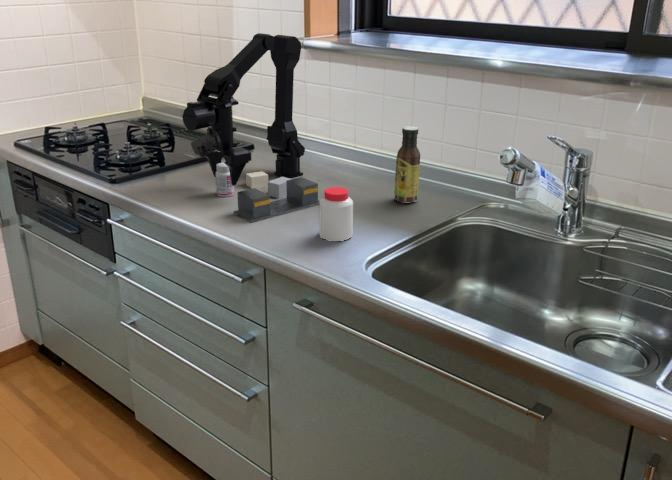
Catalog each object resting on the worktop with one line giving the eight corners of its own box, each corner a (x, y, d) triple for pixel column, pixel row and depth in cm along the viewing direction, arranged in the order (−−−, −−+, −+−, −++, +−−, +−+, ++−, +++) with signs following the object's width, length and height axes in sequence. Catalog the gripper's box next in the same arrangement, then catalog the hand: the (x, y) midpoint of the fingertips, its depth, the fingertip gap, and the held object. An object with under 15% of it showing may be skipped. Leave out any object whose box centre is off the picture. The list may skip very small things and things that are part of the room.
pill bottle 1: (230, 197, 181) (229, 167, 177) (214, 196, 181) (212, 166, 178) (236, 192, 185) (235, 162, 182) (220, 191, 186) (218, 161, 182)
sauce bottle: (390, 198, 182) (393, 125, 174) (411, 195, 184) (415, 123, 176) (400, 206, 176) (403, 131, 168) (421, 203, 178) (426, 129, 170)
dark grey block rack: (303, 195, 183) (303, 175, 181) (322, 203, 177) (322, 183, 175) (233, 213, 170) (232, 192, 168) (251, 222, 164) (250, 200, 162)
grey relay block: (282, 190, 187) (282, 176, 186) (293, 193, 185) (293, 179, 184) (268, 195, 183) (267, 181, 181) (279, 199, 181) (278, 184, 179)
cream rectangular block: (262, 182, 193) (262, 171, 192) (268, 186, 190) (268, 175, 189) (246, 185, 191) (245, 173, 190) (251, 189, 188) (251, 177, 186)
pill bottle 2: (318, 229, 160) (318, 185, 156) (350, 229, 161) (351, 185, 157) (320, 242, 153) (320, 196, 149) (354, 241, 154) (355, 196, 150)
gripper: (176, 121, 177) (181, 178, 184) (212, 135, 164) (216, 196, 170) (213, 115, 184) (217, 170, 190) (251, 128, 171) (253, 187, 177)
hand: (225, 180), depth 182 cm, fingers open, 9 cm apart
